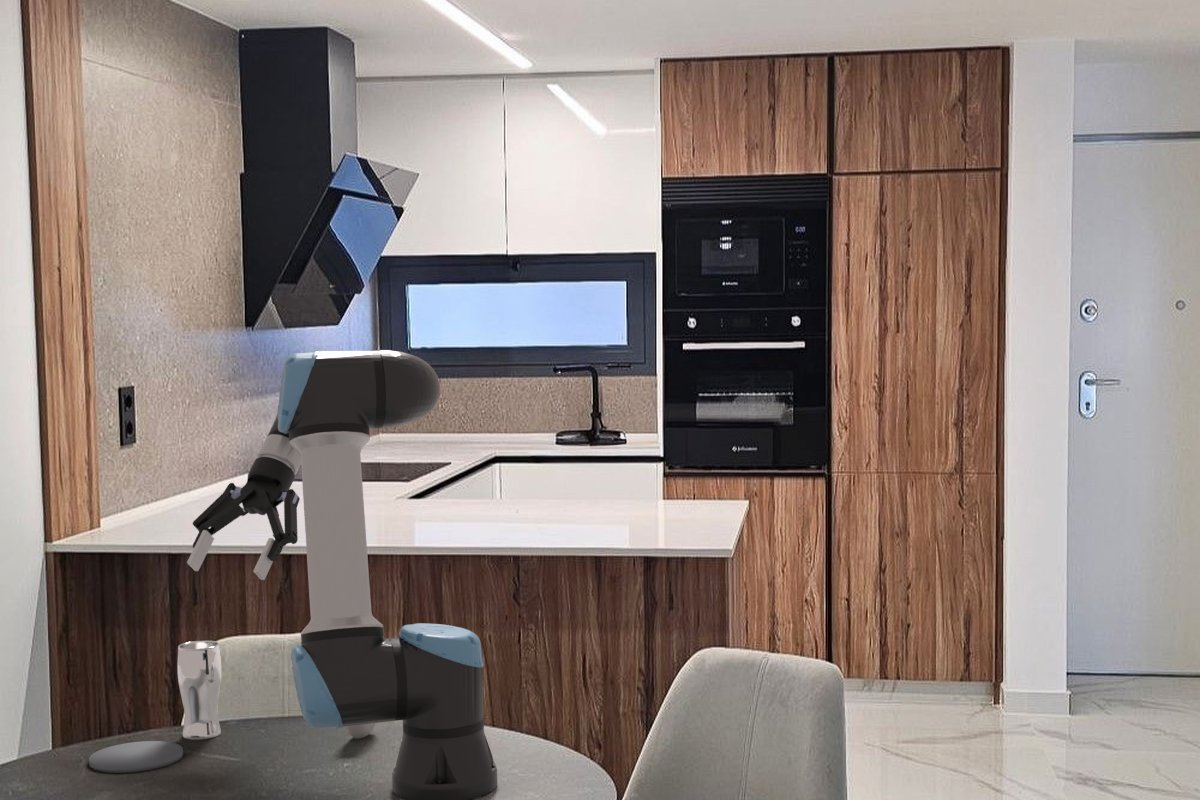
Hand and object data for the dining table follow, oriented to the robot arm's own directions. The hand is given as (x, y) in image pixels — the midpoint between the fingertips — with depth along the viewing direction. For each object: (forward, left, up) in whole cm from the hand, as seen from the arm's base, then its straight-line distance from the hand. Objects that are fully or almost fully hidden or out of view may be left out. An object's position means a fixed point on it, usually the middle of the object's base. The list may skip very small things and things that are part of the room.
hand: (225, 571), depth 245 cm
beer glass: (-1, +6, -26) cm, 27 cm away
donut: (-23, -10, -26) cm, 36 cm away
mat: (-5, +20, -26) cm, 33 cm away
